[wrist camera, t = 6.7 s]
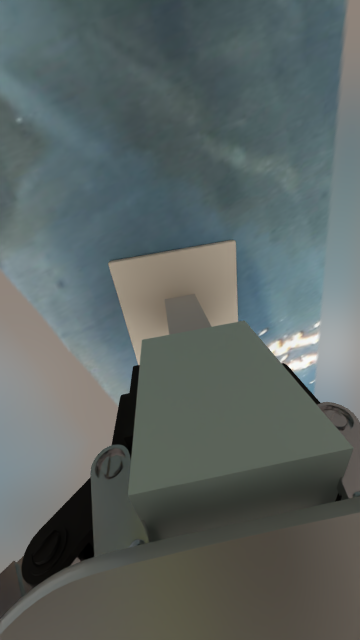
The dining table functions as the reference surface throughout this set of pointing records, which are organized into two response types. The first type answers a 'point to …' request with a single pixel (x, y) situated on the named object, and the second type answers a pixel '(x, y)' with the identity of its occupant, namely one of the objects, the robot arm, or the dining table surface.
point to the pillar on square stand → (177, 290)
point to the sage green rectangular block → (226, 435)
